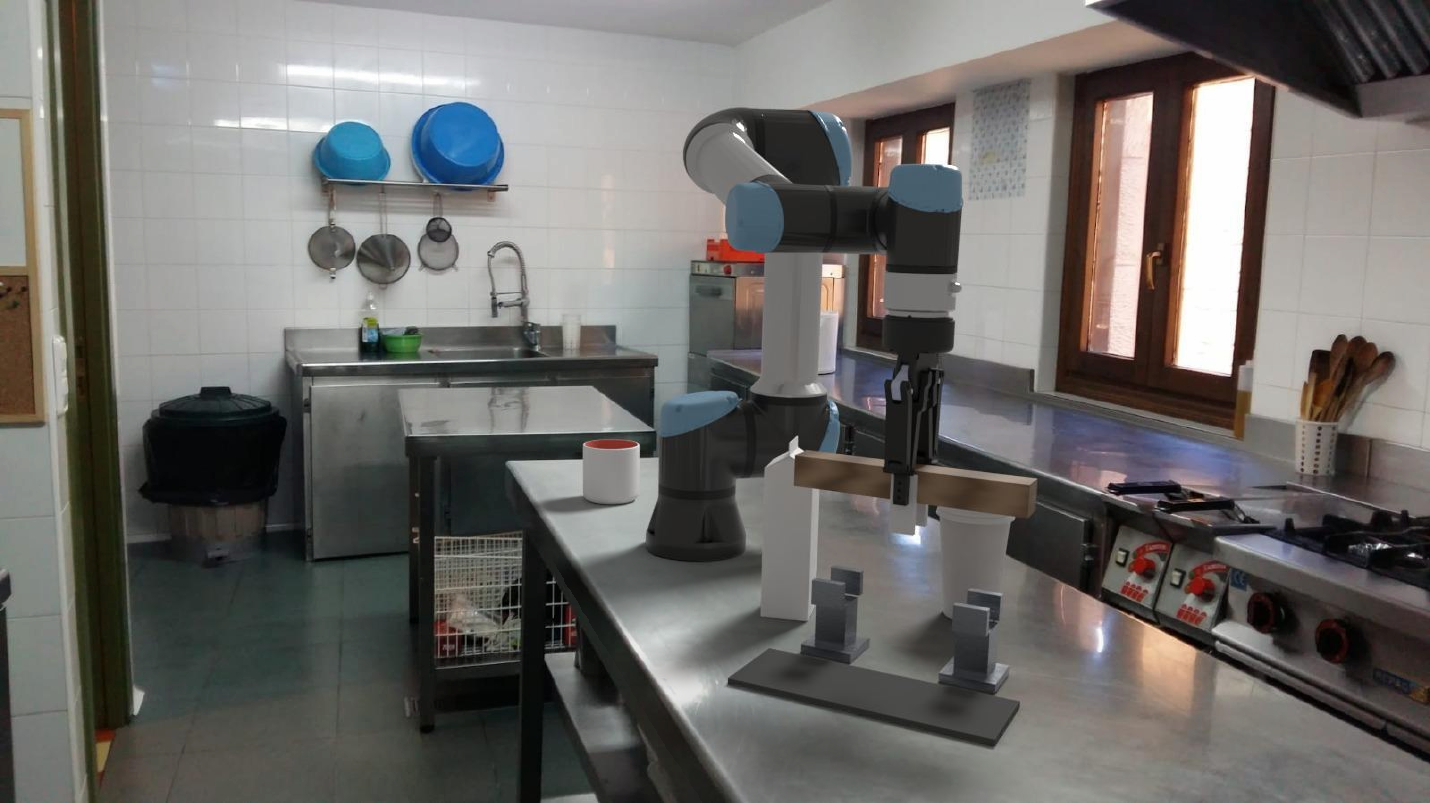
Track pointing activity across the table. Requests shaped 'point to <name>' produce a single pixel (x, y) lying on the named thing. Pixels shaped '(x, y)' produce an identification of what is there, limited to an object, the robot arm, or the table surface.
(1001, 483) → the rail
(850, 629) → the post
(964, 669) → the post
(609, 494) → the cup
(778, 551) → the milk
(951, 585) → the coffee cup
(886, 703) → the mat
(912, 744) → the table surface
